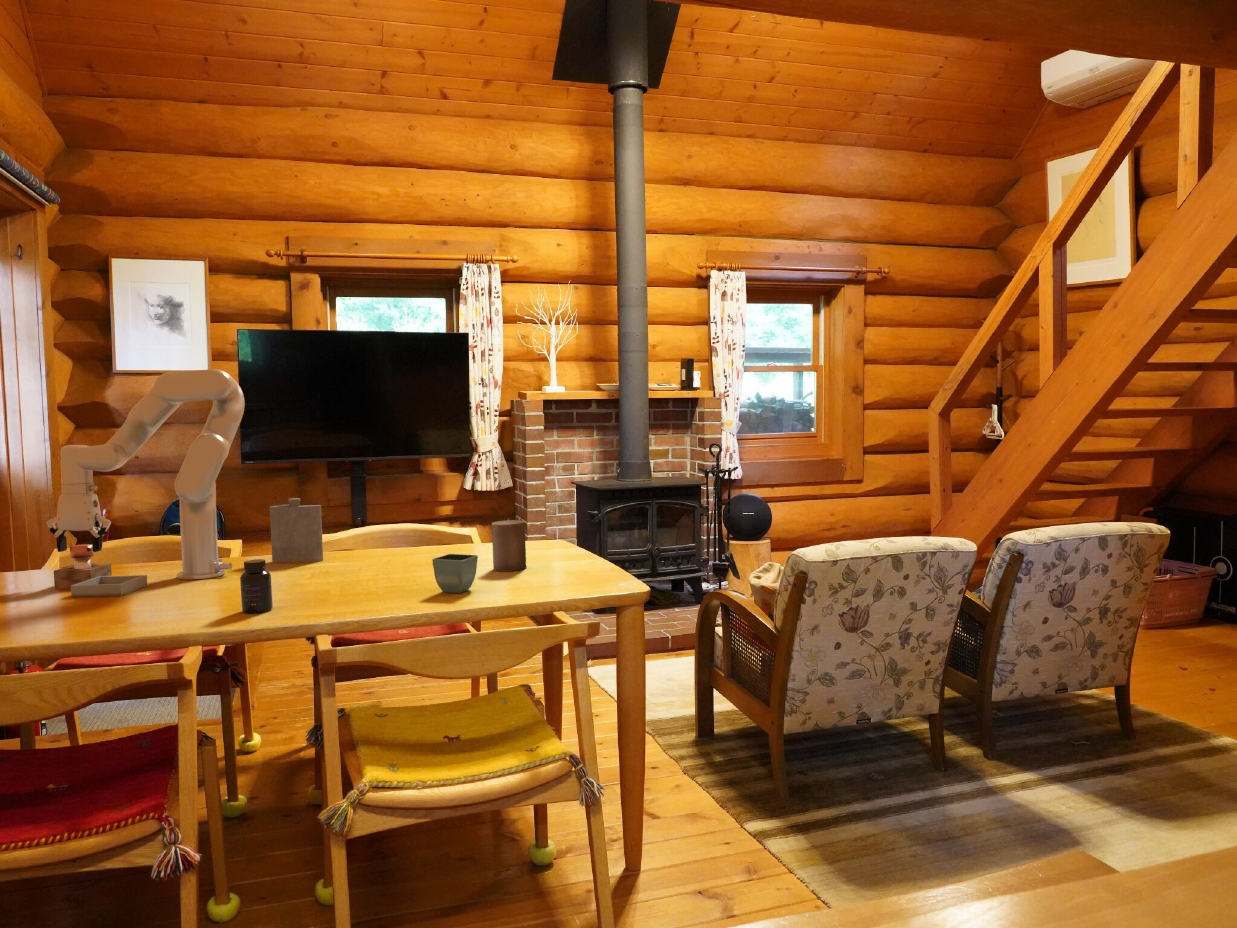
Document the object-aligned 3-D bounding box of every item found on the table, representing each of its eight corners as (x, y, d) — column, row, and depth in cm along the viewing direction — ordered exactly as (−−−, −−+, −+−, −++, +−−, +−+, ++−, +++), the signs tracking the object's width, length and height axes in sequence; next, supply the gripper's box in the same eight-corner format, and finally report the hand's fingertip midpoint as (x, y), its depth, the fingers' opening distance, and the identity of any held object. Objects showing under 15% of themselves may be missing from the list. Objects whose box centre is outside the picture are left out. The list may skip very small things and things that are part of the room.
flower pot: (479, 588, 233) (478, 554, 233) (463, 595, 225) (462, 560, 224) (449, 587, 236) (448, 553, 236) (432, 594, 228) (431, 559, 227)
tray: (147, 585, 246) (146, 575, 246) (121, 596, 233) (120, 584, 233) (100, 586, 246) (99, 576, 246) (71, 597, 233) (70, 585, 233)
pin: (99, 582, 252) (97, 543, 251) (88, 586, 247) (85, 547, 246) (79, 583, 252) (77, 544, 251) (67, 587, 247) (65, 547, 246)
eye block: (112, 580, 254) (110, 563, 254) (91, 588, 244) (90, 570, 244) (76, 581, 254) (75, 564, 254) (54, 588, 244) (53, 570, 244)
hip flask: (324, 559, 283) (322, 497, 282) (320, 562, 279) (317, 498, 278) (274, 560, 283) (271, 497, 282) (269, 563, 279) (266, 499, 278)
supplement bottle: (247, 608, 216) (244, 558, 215) (276, 607, 216) (274, 557, 215) (237, 614, 209) (235, 563, 208) (267, 613, 209) (265, 562, 209)
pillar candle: (533, 567, 263) (531, 516, 262) (512, 572, 255) (510, 520, 254) (507, 565, 268) (505, 515, 267) (485, 570, 260) (484, 518, 259)
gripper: (116, 488, 251) (118, 549, 252) (54, 488, 251) (56, 549, 252) (101, 490, 244) (103, 553, 245) (37, 490, 244) (39, 553, 245)
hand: (79, 551), depth 249 cm, fingers open, 9 cm apart
